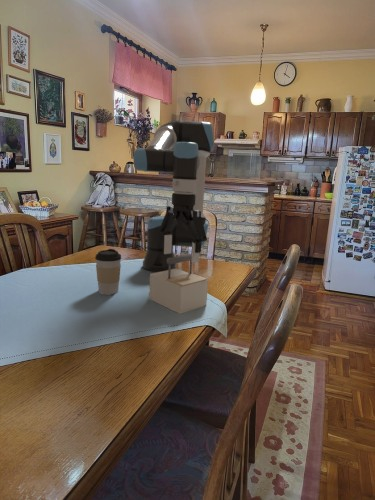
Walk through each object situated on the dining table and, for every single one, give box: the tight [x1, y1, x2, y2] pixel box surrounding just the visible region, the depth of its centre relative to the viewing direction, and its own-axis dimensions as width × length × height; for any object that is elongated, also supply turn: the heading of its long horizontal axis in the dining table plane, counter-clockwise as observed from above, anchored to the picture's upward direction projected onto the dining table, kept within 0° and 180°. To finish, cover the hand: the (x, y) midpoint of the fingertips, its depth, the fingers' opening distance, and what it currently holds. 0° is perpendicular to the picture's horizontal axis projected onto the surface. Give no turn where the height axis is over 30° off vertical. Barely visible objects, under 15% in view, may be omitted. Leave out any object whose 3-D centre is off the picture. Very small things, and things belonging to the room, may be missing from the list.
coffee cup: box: [94, 248, 122, 295], centre depth 127 cm, size 9×9×15 cm
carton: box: [149, 268, 209, 315], centre depth 121 cm, size 12×17×9 cm
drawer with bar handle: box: [166, 253, 208, 287], centre depth 116 cm, size 11×8×8 cm
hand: (180, 257), depth 118 cm, fingers open, 13 cm apart
